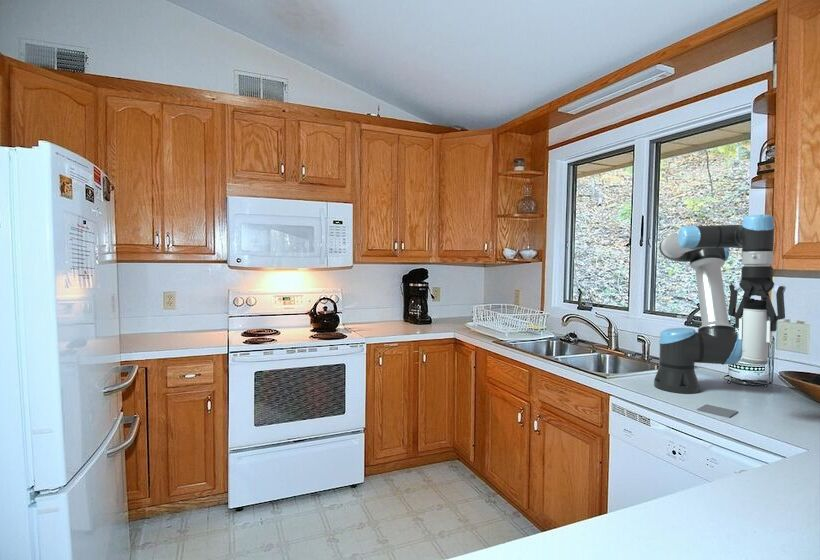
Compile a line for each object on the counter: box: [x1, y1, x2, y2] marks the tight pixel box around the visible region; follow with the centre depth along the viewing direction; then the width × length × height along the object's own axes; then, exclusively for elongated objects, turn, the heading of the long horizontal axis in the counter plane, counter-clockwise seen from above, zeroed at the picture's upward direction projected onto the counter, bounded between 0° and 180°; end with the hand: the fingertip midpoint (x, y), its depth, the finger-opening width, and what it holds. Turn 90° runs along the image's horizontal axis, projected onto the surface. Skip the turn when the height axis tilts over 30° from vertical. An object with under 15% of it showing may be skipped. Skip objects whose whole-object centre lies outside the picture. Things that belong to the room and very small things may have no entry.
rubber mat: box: [696, 403, 739, 418], centre depth 142 cm, size 8×9×1 cm
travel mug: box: [741, 297, 770, 366], centre depth 134 cm, size 6×7×20 cm
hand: (755, 340), depth 134 cm, fingers closed on travel mug, 6 cm apart
